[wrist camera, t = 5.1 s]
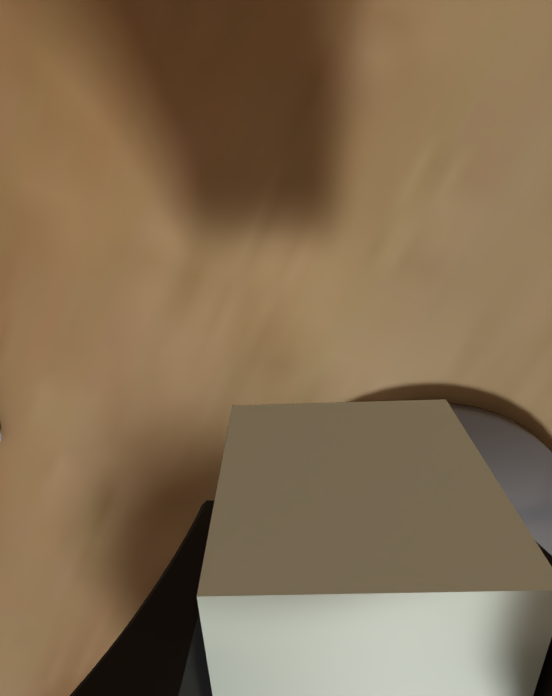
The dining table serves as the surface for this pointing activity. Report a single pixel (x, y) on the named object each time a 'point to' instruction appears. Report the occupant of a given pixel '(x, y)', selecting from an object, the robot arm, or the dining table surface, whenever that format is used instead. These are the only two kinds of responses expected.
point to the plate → (515, 466)
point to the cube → (367, 559)
